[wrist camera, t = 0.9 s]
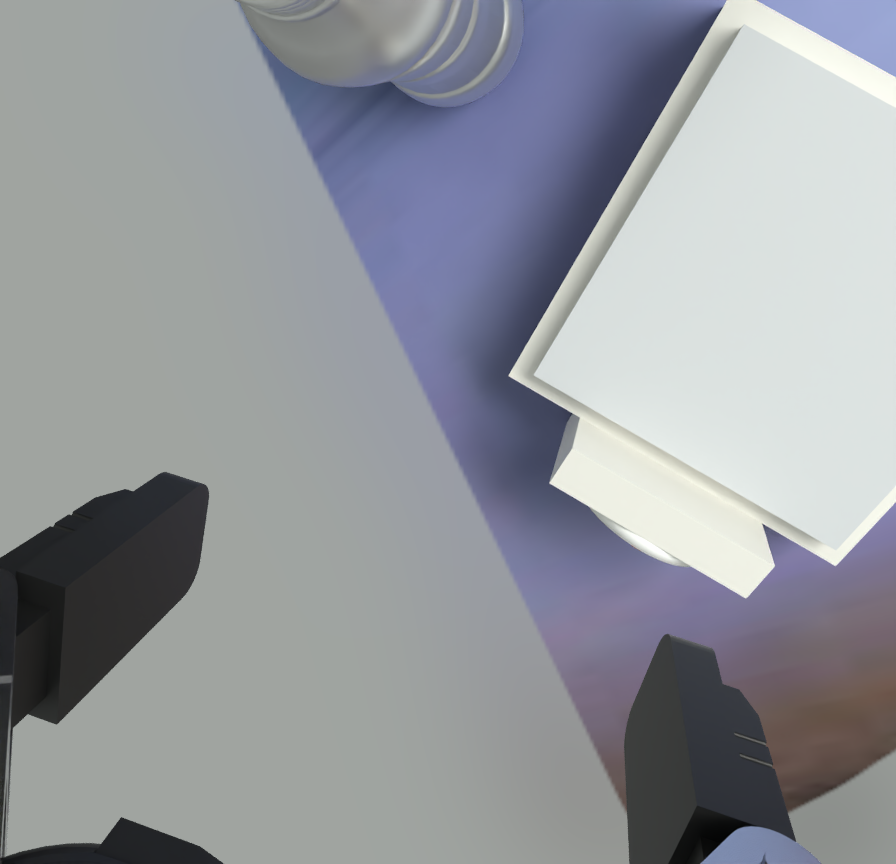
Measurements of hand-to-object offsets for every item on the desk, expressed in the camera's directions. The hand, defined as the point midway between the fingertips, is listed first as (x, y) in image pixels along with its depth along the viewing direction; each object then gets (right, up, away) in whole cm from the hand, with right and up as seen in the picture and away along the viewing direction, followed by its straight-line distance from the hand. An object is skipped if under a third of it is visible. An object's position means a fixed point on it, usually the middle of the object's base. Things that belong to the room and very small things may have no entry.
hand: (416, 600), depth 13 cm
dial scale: (+15, +8, +23) cm, 29 cm away
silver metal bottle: (+1, +22, +22) cm, 31 cm away
